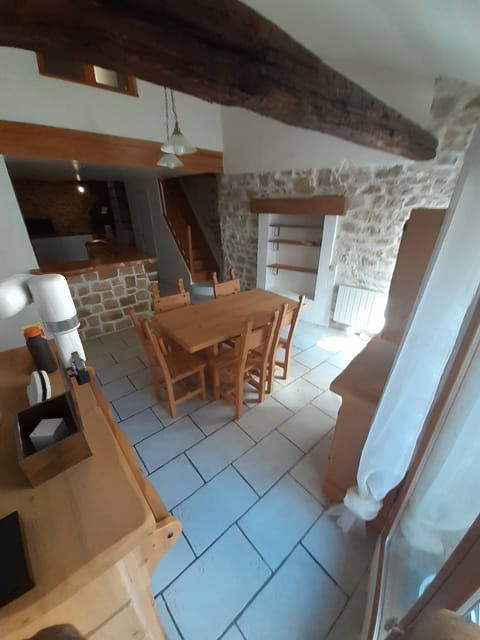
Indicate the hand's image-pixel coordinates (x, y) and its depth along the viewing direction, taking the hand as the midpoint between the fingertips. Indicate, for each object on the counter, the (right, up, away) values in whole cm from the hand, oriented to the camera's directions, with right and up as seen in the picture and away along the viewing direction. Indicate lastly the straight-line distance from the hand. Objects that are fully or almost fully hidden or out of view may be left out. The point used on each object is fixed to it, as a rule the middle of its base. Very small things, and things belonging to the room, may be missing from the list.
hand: (81, 376), depth 73 cm
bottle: (-35, -5, +34) cm, 49 cm away
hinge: (-27, -12, +20) cm, 36 cm away
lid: (-3, -3, -1) cm, 5 cm away
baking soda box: (-44, -1, +42) cm, 61 cm away
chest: (-9, -21, +2) cm, 23 cm away
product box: (-9, -21, +2) cm, 23 cm away
